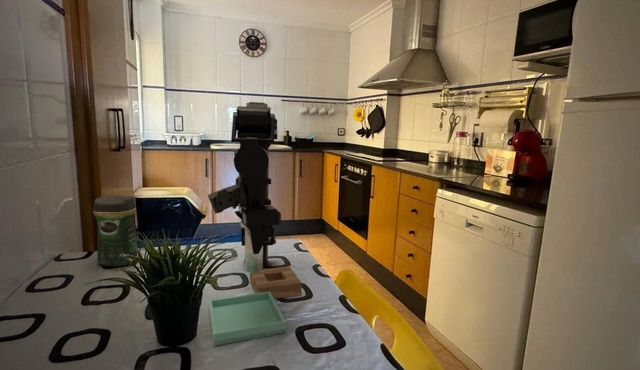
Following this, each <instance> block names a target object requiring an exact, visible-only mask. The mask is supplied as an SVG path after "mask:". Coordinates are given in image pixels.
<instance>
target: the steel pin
mask: <svg viewBox="0 0 640 370" xmlns="http://www.w3.org/2000/svg"><path fill="white" fill-rule="evenodd" d="M241 221H242V220H241V219H240V227H242V228H245V246H244V260H245V262H244V269H245V272H246V273H250V272H251V273H255V272H260V271H262V270H263V269H264V268H263V246H262V248H261V250H260V252H259V254H253V250H252V245H251V239H250V233H249V229H248V228H247V227H246V226H244V225H243V223H242V222H241Z"/></svg>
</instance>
